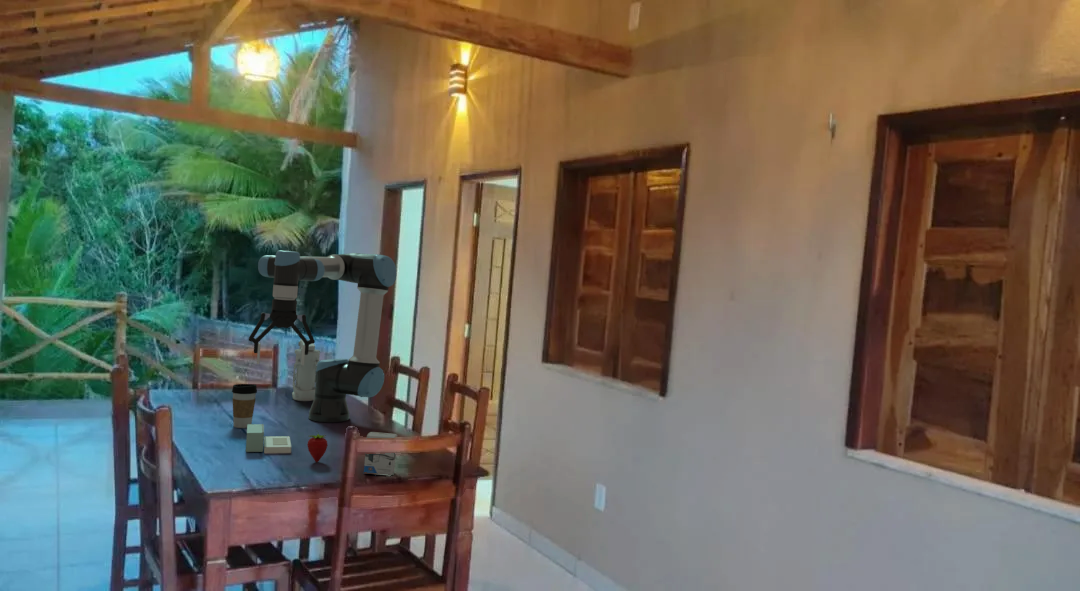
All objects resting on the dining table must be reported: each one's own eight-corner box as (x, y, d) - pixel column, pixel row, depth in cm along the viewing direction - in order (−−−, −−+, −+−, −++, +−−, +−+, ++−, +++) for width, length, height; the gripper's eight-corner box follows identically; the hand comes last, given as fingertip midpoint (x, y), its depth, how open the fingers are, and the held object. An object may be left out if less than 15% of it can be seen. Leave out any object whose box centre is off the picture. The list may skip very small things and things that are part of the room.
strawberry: (308, 465, 229) (310, 432, 228) (304, 459, 236) (306, 427, 235) (328, 465, 231) (330, 432, 231) (324, 458, 238) (326, 426, 238)
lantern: (318, 401, 327) (322, 343, 326) (293, 401, 323) (297, 342, 322) (313, 395, 339) (317, 339, 338) (289, 395, 334) (293, 338, 333)
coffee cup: (246, 430, 267) (248, 387, 266) (224, 427, 268) (227, 384, 268) (259, 425, 275) (262, 384, 274) (238, 422, 277) (241, 381, 276)
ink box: (362, 475, 224) (365, 435, 223) (366, 470, 229) (368, 431, 228) (392, 477, 224) (395, 437, 224) (395, 472, 229) (397, 433, 229)
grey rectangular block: (262, 442, 251) (263, 423, 250) (262, 451, 239) (264, 432, 239) (246, 442, 249) (247, 423, 249) (245, 451, 238) (246, 432, 237)
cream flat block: (289, 442, 254) (289, 436, 254) (290, 453, 241) (291, 446, 241) (263, 442, 252) (264, 436, 252) (264, 453, 239) (264, 446, 238)
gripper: (323, 300, 254) (319, 363, 254) (243, 295, 245) (239, 361, 246) (325, 301, 247) (321, 366, 247) (243, 297, 238) (238, 364, 239)
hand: (280, 364), depth 246 cm, fingers open, 13 cm apart
